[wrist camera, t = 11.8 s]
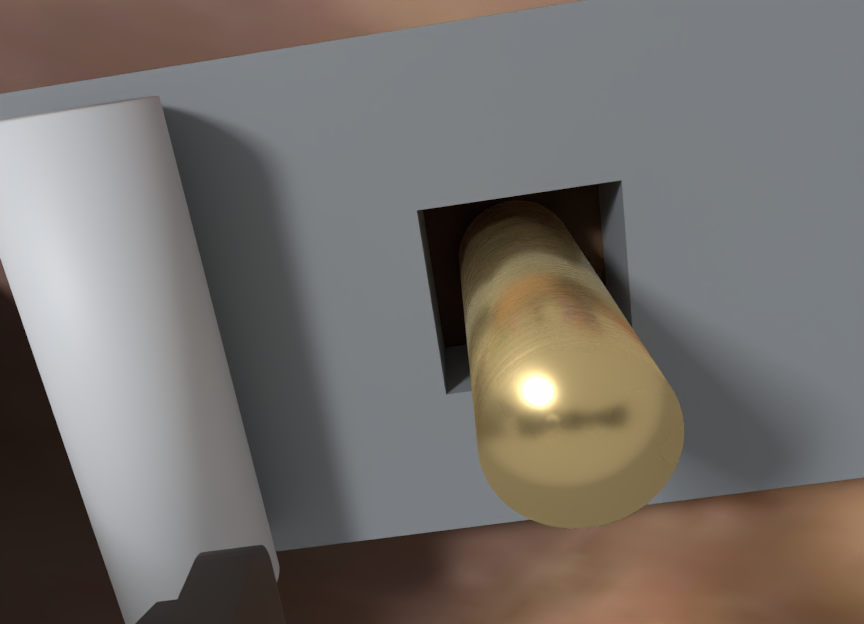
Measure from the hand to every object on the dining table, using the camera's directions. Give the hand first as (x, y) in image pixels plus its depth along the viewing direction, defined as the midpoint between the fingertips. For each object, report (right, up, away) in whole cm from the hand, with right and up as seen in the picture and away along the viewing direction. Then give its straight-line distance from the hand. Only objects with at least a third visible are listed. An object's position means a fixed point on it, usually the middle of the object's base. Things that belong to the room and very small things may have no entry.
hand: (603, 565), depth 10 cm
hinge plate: (0, +4, +12) cm, 12 cm away
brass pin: (0, +4, +12) cm, 12 cm away
